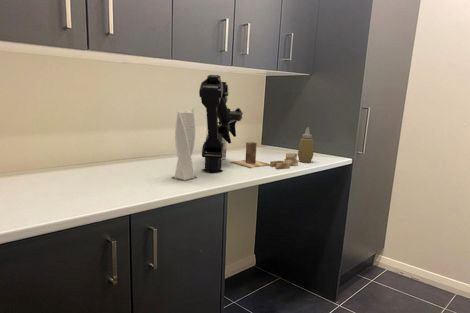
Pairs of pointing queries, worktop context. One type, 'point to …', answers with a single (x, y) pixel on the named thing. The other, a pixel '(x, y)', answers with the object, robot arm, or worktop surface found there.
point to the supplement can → (224, 148)
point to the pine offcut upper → (291, 156)
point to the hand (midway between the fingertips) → (232, 139)
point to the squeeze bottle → (306, 148)
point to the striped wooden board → (256, 164)
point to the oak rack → (279, 164)
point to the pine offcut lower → (291, 162)
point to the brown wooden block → (250, 152)
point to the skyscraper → (185, 144)
